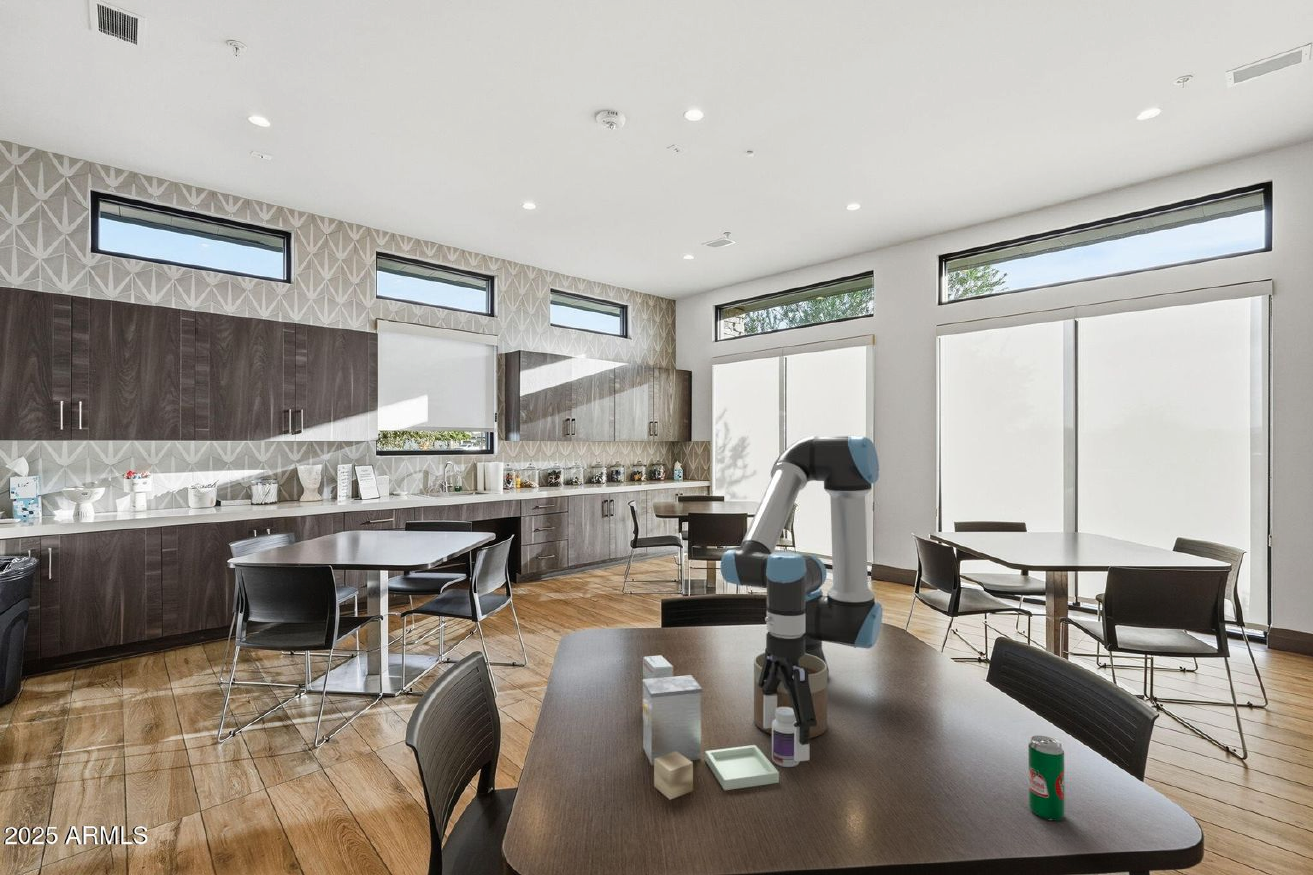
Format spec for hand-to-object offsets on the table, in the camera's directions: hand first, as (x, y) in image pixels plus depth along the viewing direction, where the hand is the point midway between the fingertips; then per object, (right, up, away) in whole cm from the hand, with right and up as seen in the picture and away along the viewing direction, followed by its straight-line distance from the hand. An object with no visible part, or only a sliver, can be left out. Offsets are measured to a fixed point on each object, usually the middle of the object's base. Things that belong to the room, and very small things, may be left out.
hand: (785, 742), depth 117 cm
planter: (+4, -4, +16) cm, 17 cm away
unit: (-22, -4, +3) cm, 23 cm away
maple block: (-22, -3, -10) cm, 24 cm away
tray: (-9, -4, -4) cm, 10 cm away
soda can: (+40, -4, -16) cm, 44 cm away
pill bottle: (0, -4, 0) cm, 4 cm away
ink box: (-25, -4, +22) cm, 33 cm away
